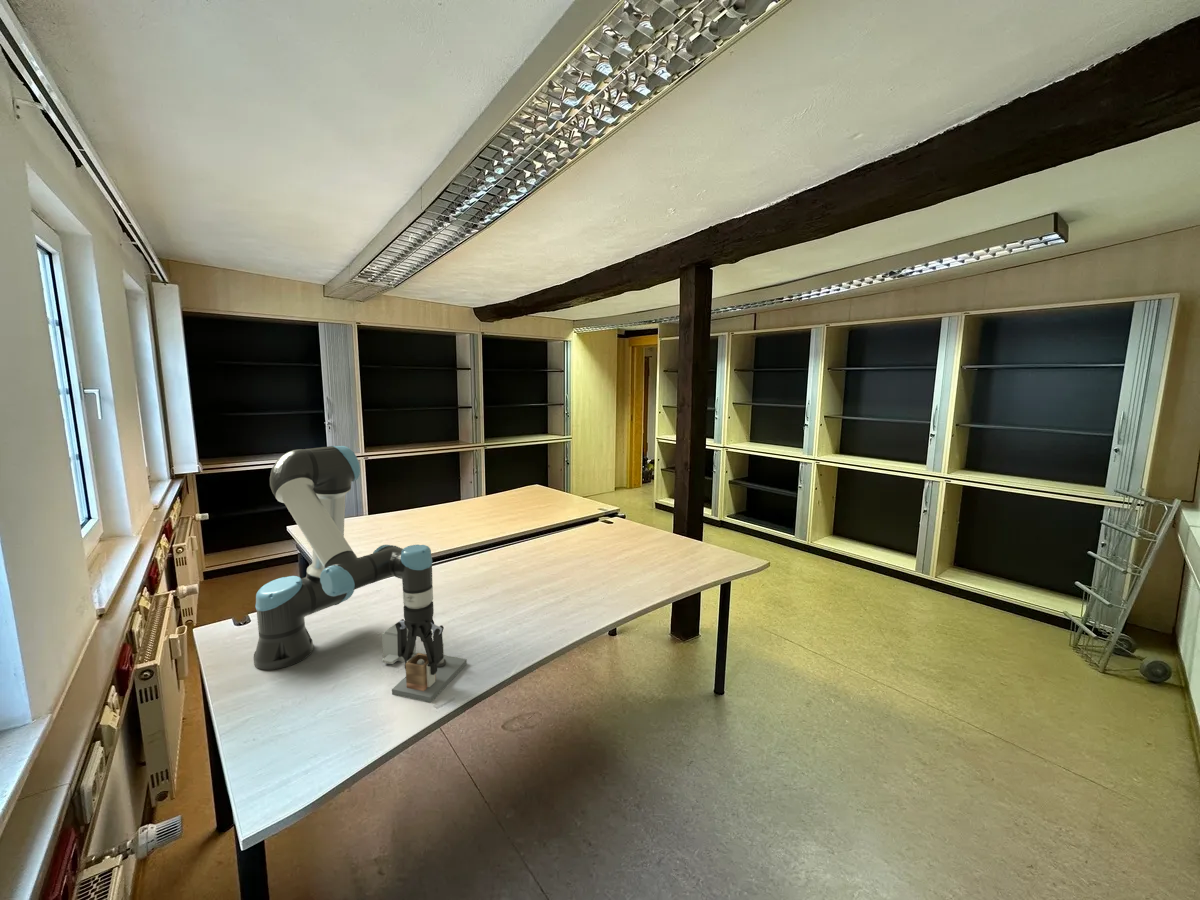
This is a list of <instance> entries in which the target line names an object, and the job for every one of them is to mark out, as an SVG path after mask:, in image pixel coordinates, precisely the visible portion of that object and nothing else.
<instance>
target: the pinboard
mask: <svg viewBox="0 0 1200 900" xmlns="http://www.w3.org/2000/svg"><path fill="white" fill-rule="evenodd" d="M444 651H445V650H444V647H443V654H444V653H445V652H444ZM467 661H468V659H466V658H463V657H457V656H451V655H447V654H444V658H443V659H442V660H441V661H440V662H439V663H438V664H437V672H436V679H435V682H434V683H433V684H432V686H431V687H428V688H427V689H426V690H425V691H421V690H416V689H411V688H407V684H406V676H405V677H403V678H402V679H401V680H400V681H399V682H398V683H397V684H396V685H394V686H393V688H391V694H392V695H395V696H398V697H404V698H407V699H413V700H417V701H421V702H427V703H432V702H433V701H434V700H435V699H436V698H437V697H438V695H439V694H440V693H442V691H443V690H444V689H445V688H446V687H447V686H448V685H449V684H450V682H452V680H453V679H454V678H455V677H456V676H457V675H458V674H459V673H460V672H461V670H463V668H465V666H467V664H468V662H467ZM424 663H425V662H424V660H423V659H419V660H418V661H417V664H419V665H423V664H424Z"/></svg>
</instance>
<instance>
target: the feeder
mask: <svg viewBox="0 0 1200 900" xmlns="http://www.w3.org/2000/svg"><path fill="white" fill-rule="evenodd" d="M407 635H408V629H407ZM381 639H382V641H381V645H382V658H383V659H381V662H382V664H383V663H384V664H390V665H394V664H395V663H396V662H397V661H398V662H401V663H402V662H403V663H405V660H404V658H403V657H399V656H398V644H397V629H396V626H395V624H392V626H390V627H389V628H388V629H386V630H385V631H383V632H382V633H381ZM407 640H408V638H407ZM416 643H417V642H415V647H414V651H413V652H414V654H413V655H412V656H415V655H416V654H417V644H416Z"/></svg>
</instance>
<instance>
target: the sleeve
mask: <svg viewBox="0 0 1200 900" xmlns="http://www.w3.org/2000/svg"><path fill="white" fill-rule="evenodd" d="M413 656H414V657H413V658H412V659H410V660H409V661H408V662H407V663H406V669H405V677H406V684H407V688H411V689H416V690H421V691H425V690H426V689H427V688H428V687H427V669H426V665H427V664H428V663H429V662H428V658H427V655H426V653H421V652H416V654H415V655H413ZM419 659H423V660H424V662H425V663H424V664H423V665H419V664H417V661H418V660H419ZM435 679H436V673H435Z"/></svg>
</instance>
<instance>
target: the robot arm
mask: <svg viewBox="0 0 1200 900" xmlns="http://www.w3.org/2000/svg"><path fill="white" fill-rule="evenodd" d="M360 473H361V466H360V462H359V460H358V457H357V455H356V453H355V451H354V450H352V448H350V447H349V446H346V445H330V446H321V447H313V448H305V449H304V448H303V449H302V448H300V449H292V450H290V451H287V452H286V453H284V454H283V455H282V456H280V457H279V458H278V459H277V460H276V461H275V463H274V465H273V466H272V468H271V470H270V476H269V487H270V489H271V492H272V494H273V496H274V497H275V499H276V500H277V502H279V503H282V504H284V505H285V507H286V508H287V510H288V512H289V513H290V515H291V516H292V518H293V521H295V523H296V525H297V526H298V528H299V530H300V531H301V532H302V534H303V536H304V538H305V540H306V541H307V543H309V545H310V548H311V549H312V558H311V559H312V563H311V564H310V565H308V566H307V568H306V576H305V577H302V578H301V577H300V576H297V575H288V576H282V577H279V578H276V579H273V580H270V581H268V582H267V583H265V584H263V586H261V587H260V588H259V589H258V591H257V592H256V594H255V609H256V617H257V619H256V620H257V629H258V630H257V631H258V641H257V644H256V648H255V651H254V654H253V665H254V667H255V668H257V669H259V670H266V671H269V670H270V671H272V670H278V669H283V668H288V667H289V666H290V667H291V666H292V665H296V664H297V663H299V662H301V661H303V660H305V659H306V658H308V657H309V656H310V655H312V652H313V651H314V643H313V642H314V641H313V639H312V638H311V637H312V636H311V635H310V633H309V631H308V629H307V627H306V624H305V623H306V622H305V621H306V620H305V617H307V616H309V615H312V614H316V613H317V612H321V611H323V610H325V609H328V608H330V607H333V606H338V605H340V604H341V603H343V602H346V601H348V600H349V599H350V598H351V597H352V596H353V594H354V592H355V590H357V589H359V588H360V589H361V588H363V587H365V586H367V585H370V584H374V583H377V582H379V581H380V582H381V581H382V580H384V579H388V578H391V577H395V578H397V579H401V582H402V599H403V600H402V601H403V602H402V603H403V618H401V619H400V620H399V621H398V622H396V623H394V625H395V626H396V629H397V644H398V656H399V657H403V658H404V660H405V662H404V668H405V670H406V663H407V662H408V661H409V660H410V659H412V658H413V657H414V656H415V655H413V654H414V652H413V651H414V647H415V642H416V641H417V637H418V638H419V640H420V641H421V643H422V644H423V647H424V651H425V654H426V655H427V658H428V662H429V663H428V664H427V665H426V669H427V687H431V686H432V684H433V683H434V682H435V673H436V672H437V664H438V663H439V662H440V661H441V660H442V659H443V658H444V655H445V654H443V648H444V643H443V641H444V640H443V632H444V626H443V625H437V624H435V621H434V618H433V617H434V614H435V612H434V610H435V609H434V601H433V600H434V589H433V588H434V587H433V558H432V550H431V548H430V546H428V545H426V544H411V545H408V546H405V547H404V548H402V547H399V546H397V545H391V544H382V545H379V546H378V547H377V548H376V549H374V551H373V552H372V553H369V554H367V555H363V556H360V557H358V556H357V555H356V553H355V552H354V550H353V549H352V547H351V546H350V544H349V543H348V541H347V540H346V538H345V517H346V515H345V513H346V512H345V511H346V510H345V509H346V494H347V493H349V492H350V491H351V490H352V482H355V481H357V480H358V479H359V477H360V475H361V474H360ZM407 629H408V635H407ZM407 638H408V640H407ZM416 643H417V642H416ZM412 655H413V656H412Z"/></svg>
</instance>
